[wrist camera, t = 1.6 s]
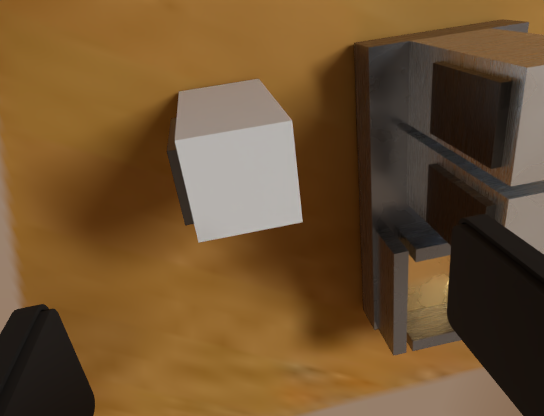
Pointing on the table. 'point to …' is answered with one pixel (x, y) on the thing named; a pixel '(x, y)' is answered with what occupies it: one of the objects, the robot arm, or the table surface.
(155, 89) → the table surface
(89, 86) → the table surface
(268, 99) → the pale grey block
